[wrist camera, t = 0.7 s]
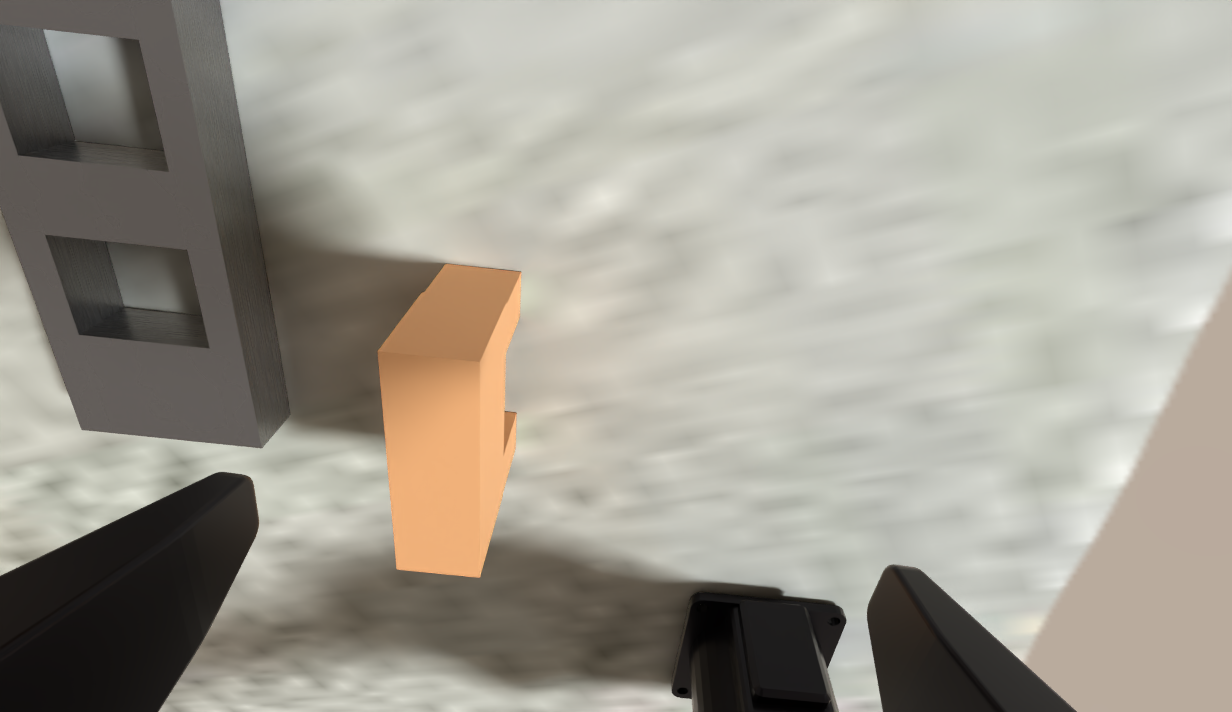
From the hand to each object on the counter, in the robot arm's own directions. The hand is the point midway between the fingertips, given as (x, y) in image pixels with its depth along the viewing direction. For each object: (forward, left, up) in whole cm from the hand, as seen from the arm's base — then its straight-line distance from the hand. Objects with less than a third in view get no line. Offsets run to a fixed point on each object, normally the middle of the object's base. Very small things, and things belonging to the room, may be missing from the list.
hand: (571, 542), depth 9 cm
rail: (0, +14, -12) cm, 19 cm away
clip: (-5, +4, -12) cm, 14 cm away
